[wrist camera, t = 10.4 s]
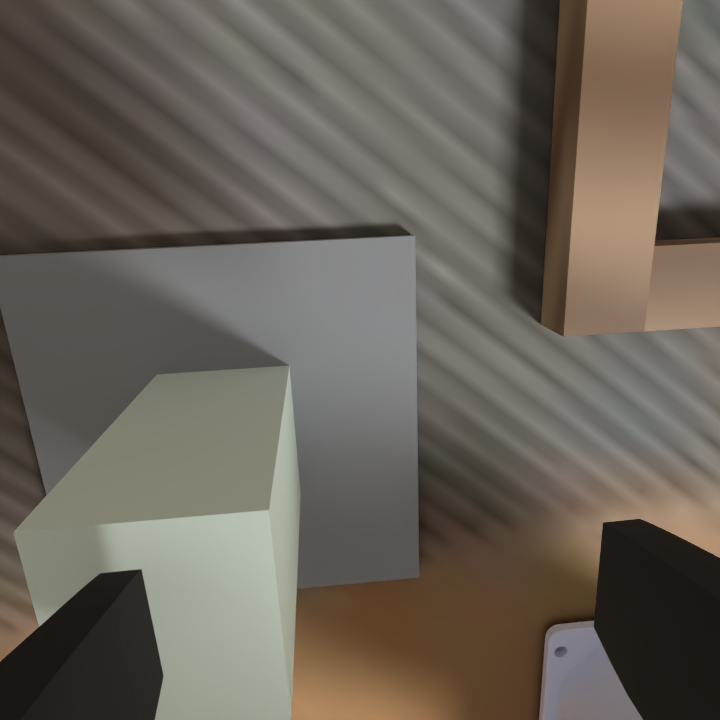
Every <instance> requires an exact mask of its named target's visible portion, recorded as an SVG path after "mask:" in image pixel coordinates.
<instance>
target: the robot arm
mask: <svg viewBox="0 0 720 720" xmlns="http://www.w3.org/2000/svg"><path fill="white" fill-rule="evenodd" d="M558 647H560V648H558ZM557 648H558V649H557ZM163 677H164V675H163V671H162V666H161V661H160V656H159V651H158V647H157V642H156V637H155V632H154V627H153V622H152V618H151V613H150V608H149V603H148V598H147V594H146V589H145V584H144V579H143V574H142V569H137V570H127V571H117V572H107V573H100V574H99V575H97V576H96V577H95V578H94V579H92V580H91V581H90V582H89V583H88V584H86V585H85V586H84V587H83V588H82V589H81V590H80V591H78V592H77V593H76V594H75V595H74V596H73V597H72V598H71V599H69V600H68V601H67V602H66V603H65V604H64V605H63V606H62V607H61V608H59V609H58V610H57V611H56V612H55V613H54V614H53V615H52V616H51V617H50V618H48V619H47V620H46V621H45V622H44V623H43V624H42V625H41V626H40V627H39V628H37V629H36V630H35V631H34V632H33V633H32V634H31V635H30V636H29V637H27V638H26V639H25V640H24V641H23V642H22V643H21V644H20V645H19V646H17V647H16V648H15V649H14V650H13V651H12V652H11V653H10V654H8V655H7V656H6V657H5V658H4V659H3V660H2V661H1V662H0V720H155V716H156V711H157V706H158V701H159V697H160V692H161V687H162V682H163ZM539 720H720V558H719V557H717V556H715V555H713V554H711V553H709V552H707V551H705V550H703V549H701V548H699V547H697V546H695V545H694V544H692V543H690V542H688V541H686V540H684V539H682V538H680V537H678V536H676V535H674V534H672V533H670V532H668V531H666V530H663V529H661V528H659V527H657V526H655V525H653V524H650V523H648V522H646V521H644V520H641V519H635V520H625V521H615V522H605V523H603V530H602V541H601V552H600V563H599V574H598V585H597V596H596V607H595V618H594V621H584V622H575V623H565V624H557V625H553V626H552V627H550V628H549V629H548V631H547V632H546V635H545V647H544V661H543V674H542V688H541V701H540V715H539Z"/></svg>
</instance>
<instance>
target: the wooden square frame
mask: <svg viewBox="0 0 720 720" xmlns="http://www.w3.org/2000/svg"><path fill="white" fill-rule="evenodd" d="M682 5H683V0H560V8H559V25H558V42H557V59H556V76H555V93H554V110H553V127H552V145H551V162H550V179H549V196H548V213H547V230H546V247H545V264H544V281H543V298H542V316H541V325H543V326H544V327H546V328H548V329H550V330H552V331H554V332H556V333H558V334H560V335H561V336H563V337H565V336H580V335H595V334H611V333H626V332H642V331H657V330H672V329H688V328H703V327H719V326H720V237H716V238H697V239H677V240H658V241H655V235H656V227H657V218H658V210H659V201H660V193H661V184H662V176H663V167H664V159H665V150H666V142H667V133H668V125H669V116H670V108H671V99H672V90H673V82H674V73H675V65H676V56H677V48H678V39H679V31H680V22H681V14H682Z"/></svg>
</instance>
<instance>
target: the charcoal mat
mask: <svg viewBox="0 0 720 720" xmlns="http://www.w3.org/2000/svg"><path fill="white" fill-rule="evenodd" d="M0 308H1V312H2V316H3V320H4V324H5V329H6V333H7V337H8V341H9V345H10V349H11V353H12V357H13V361H14V365H15V369H16V374H17V378H18V382H19V386H20V390H21V394H22V398H23V402H24V406H25V410H26V414H27V418H28V423H29V427H30V431H31V435H32V439H33V443H34V447H35V451H36V455H37V459H38V463H39V467H40V472H41V476H42V480H43V484H44V488H45V492H46V496H47V495H48V493H49V492H50V491H51V490H52V489H53V488H54V487H55V486H56V485H57V484H58V483H59V481H60V480H61V479H62V478H63V477H64V476H65V475H66V474H67V473H68V472H69V470H70V469H71V468H72V467H73V466H74V465H75V464H76V463H77V462H78V461H79V459H80V458H81V457H82V456H83V455H84V454H85V453H86V452H87V451H88V450H89V449H90V447H91V446H92V445H93V444H94V443H95V442H96V441H97V440H98V439H99V438H100V436H101V435H102V434H103V433H104V432H105V431H106V430H107V429H108V428H109V427H110V425H111V424H112V423H113V422H114V421H115V420H116V419H117V418H118V417H119V416H120V414H121V413H122V412H123V411H124V410H125V409H126V408H127V407H128V406H129V405H130V404H131V402H132V401H133V400H134V399H135V398H136V397H137V396H138V395H139V394H140V393H141V391H142V390H143V389H144V388H145V387H146V386H147V385H148V384H149V383H150V382H151V380H152V379H153V378H154V377H155V376H156V375H157V374H171V373H185V372H200V371H215V370H230V369H245V368H259V367H274V366H290V378H291V389H292V400H293V412H294V423H295V435H296V446H297V458H298V469H299V481H300V492H301V498H300V522H299V547H298V572H297V589H306V588H316V587H326V586H337V585H347V584H357V583H368V582H378V581H388V580H399V579H409V578H419V512H418V429H417V346H416V263H415V236H414V235H400V236H379V237H359V238H339V239H319V240H299V241H279V242H258V243H238V244H218V245H198V246H178V247H158V248H137V249H117V250H97V251H77V252H57V253H37V254H17V255H0Z"/></svg>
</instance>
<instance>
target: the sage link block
mask: <svg viewBox="0 0 720 720" xmlns="http://www.w3.org/2000/svg"><path fill="white" fill-rule="evenodd" d="M300 498H301V492H300V481H299V469H298V458H297V446H296V435H295V423H294V412H293V400H292V389H291V378H290V366H274V367H259V368H245V369H230V370H215V371H200V372H185V373H171V374H157V375H156V376H155V377H154V378H153V379H152V380H151V382H150V383H149V384H148V385H147V386H146V387H145V388H144V389H143V390H142V391H141V393H140V394H139V395H138V396H137V397H136V398H135V399H134V400H133V401H132V402H131V404H130V405H129V406H128V407H127V408H126V409H125V410H124V411H123V412H122V413H121V414H120V416H119V417H118V418H117V419H116V420H115V421H114V422H113V423H112V424H111V425H110V427H109V428H108V429H107V430H106V431H105V432H104V433H103V434H102V435H101V436H100V438H99V439H98V440H97V441H96V442H95V443H94V444H93V445H92V446H91V447H90V449H89V450H88V451H87V452H86V453H85V454H84V455H83V456H82V457H81V458H80V459H79V461H78V462H77V463H76V464H75V465H74V466H73V467H72V468H71V469H70V470H69V472H68V473H67V474H66V475H65V476H64V477H63V478H62V479H61V480H60V481H59V483H58V484H57V485H56V486H55V487H54V488H53V489H52V490H51V491H50V492H49V493H48V495H47V496H46V497H45V498H44V499H43V500H42V501H41V502H40V503H39V504H38V506H37V507H36V508H35V509H34V510H33V511H32V512H31V513H30V514H29V515H28V517H27V518H26V519H25V520H24V521H23V522H22V523H21V524H20V525H19V526H18V528H17V529H16V530H15V531H14V532H13V533H14V537H15V541H16V544H17V548H18V552H19V555H20V559H21V562H22V566H23V570H24V573H25V577H26V581H27V584H28V588H29V592H30V595H31V599H32V603H33V606H34V610H35V614H36V617H37V621H38V625H39V627H40V626H41V625H42V624H43V623H44V622H45V621H46V620H47V619H48V618H50V617H51V616H52V615H53V614H54V613H55V612H56V611H57V610H58V609H59V608H61V607H62V606H63V605H64V604H65V603H66V602H67V601H68V600H69V599H71V598H72V597H73V596H74V595H75V594H76V593H77V592H78V591H80V590H81V589H82V588H83V587H84V586H85V585H86V584H88V583H89V582H90V581H91V580H92V579H94V578H95V577H96V576H97V575H99V574H100V573H107V572H117V571H127V570H137V569H142V574H143V579H144V584H145V589H146V594H147V598H148V603H149V608H150V613H151V618H152V622H153V627H154V632H155V637H156V642H157V647H158V651H159V656H160V661H161V666H162V671H163V675H164V677H163V682H162V687H161V692H160V697H159V701H158V706H157V711H156V716H155V720H290V719H292V695H293V670H294V646H295V621H296V596H297V572H298V547H299V522H300Z"/></svg>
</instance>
